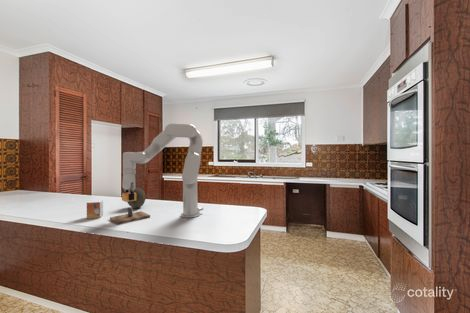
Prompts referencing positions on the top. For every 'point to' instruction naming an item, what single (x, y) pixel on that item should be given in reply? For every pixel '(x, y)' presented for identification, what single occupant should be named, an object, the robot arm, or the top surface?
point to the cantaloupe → (138, 198)
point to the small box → (94, 209)
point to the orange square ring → (127, 197)
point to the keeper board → (129, 217)
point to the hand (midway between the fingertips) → (129, 198)
